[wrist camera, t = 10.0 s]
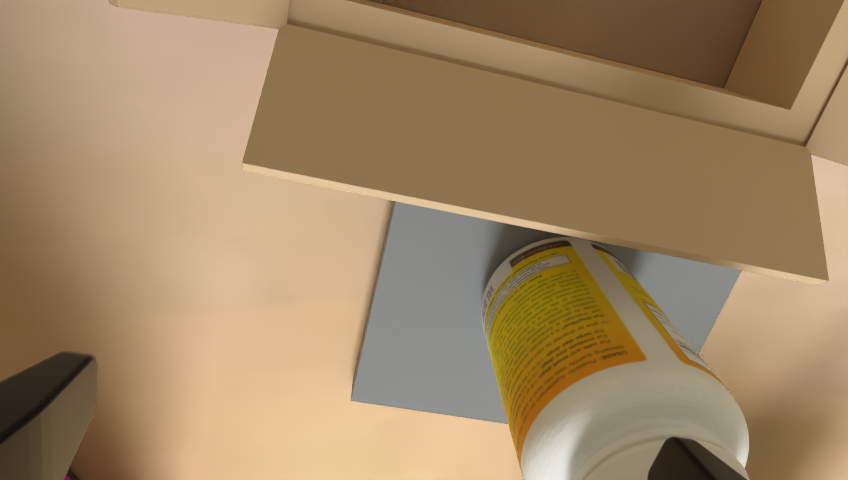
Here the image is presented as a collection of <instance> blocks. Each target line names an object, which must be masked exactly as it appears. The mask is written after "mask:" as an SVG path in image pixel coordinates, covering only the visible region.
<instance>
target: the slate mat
mask: <svg viewBox="0 0 848 480" xmlns="http://www.w3.org/2000/svg"><path fill="white" fill-rule="evenodd" d="M557 237H572V236H567V235H562V234H557V233H552V232H547V231H542V230H537V229H532V228H527V227H522V226H517V225H512V224H507V223H502V222H497V221H492V220H487V219H482V218H477V217H472V216H467V215H462V214H457V213H452V212H447V211H442V210H437V209H432V208H427V207H422V206H417V205H412V204H407V203H402V202H397V201H393V206H392V210H391V215H390V219H389V224H388V228H387V233H386V237H385V242H384V246H383V250H382V255H381V259H380V264H379V268H378V273H377V277H376V282H375V286H374V291H373V295H372V300H371V304H370V308H369V313H368V317H367V322H366V326H365V331H364V335H363V340H362V344H361V349H360V353H359V358H358V362H357V367H356V371H355V375H354V380H353V384H352V394H351V401H356V402H362V403H369V404H376V405H383V406H390V407H396V408H403V409H410V410H417V411H424V412H430V413H437V414H444V415H451V416H457V417H464V418H471V419H478V420H485V421H491V422H498V423H505V424H508V421H507V417H506V413H505V410H504V406H503V402H502V398H501V394H500V391H499V387H498V383H497V379H496V376H495V372H494V368H493V364H492V360H491V357H490V353H489V349H488V346H487V342H486V338H485V334H484V330H483V326H482V320H481V305H482V299H483V295H484V291H485V289H486V286H487V284H488V282H489V280H490V278H491V277H492V275H493V274H494V272H495V271H496V269H497V268H498V267H499V266H500V265H501V264H502V263H503V262H504V261H505V260H506V259H507V258H508V257H509V256H511V255H512V254H513V253H515V252H516V251H518V250H520V249H522V248H523V247H525V246H527V245H530V244H532V243H535V242H538V241H541V240H545V239H550V238H557ZM573 238H577V237H573ZM580 239H582V238H580ZM585 240H587V239H585ZM588 241H591V242H594V243H596V244H598V245H601V246H602V247H604V248H606V249H607V250H609V251H610V252H611V253H613V254H614V255H615V256H616V257H617V258H618V259H619V260H620V261H621V262H622V263H623V264H624V265H625V266H626V268H627V269H628V270H629V271H630V272H631V274H632V275H633V276H634V277H635V278H636V279H637V281H638V282H639V283H640V284H641V285H642V286H643V288H644V289H645V290H646V292H647V293H648V294H649V295H650V296H651V298H652V299H653V300H654V301H655V302H656V304H657V305H658V306H659V307H660V308H661V309H662V311H663V312H664V313H665V314H666V316H667V317H668V318H669V319H670V320H671V322H672V323H673V324H674V325H675V327H676V328H677V329H678V330H679V331H680V333H681V334H682V335H683V336H684V338H685V339H686V340H687V341H688V342H689V344H690V345H691V346H692V347H693V348H694V350H695V351H696V352H697V353H698V354H699V352H700V350H701V348H702V346H703V344H704V342H705V340H706V338H707V336H708V335H709V333H710V331H711V329H712V327H713V325H714V323H715V321H716V319H717V317H718V315H719V313H720V311H721V309H722V307H723V306H724V304H725V302H726V300H727V298H728V296H729V294H730V292H731V290H732V288H733V286H734V284H735V282H736V280H737V278H738V276H739V275H740V273H741V271H742V270H738V269H733V268H728V267H723V266H718V265H713V264H708V263H703V262H698V261H693V260H688V259H683V258H678V257H673V256H668V255H663V254H658V253H653V252H648V251H643V250H638V249H633V248H628V247H623V246H618V245H613V244H607V243H602V242H597V241H592V240H588Z"/></svg>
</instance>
